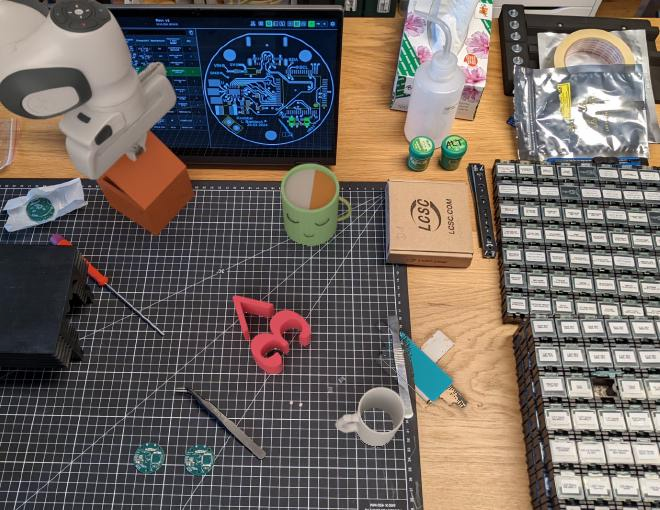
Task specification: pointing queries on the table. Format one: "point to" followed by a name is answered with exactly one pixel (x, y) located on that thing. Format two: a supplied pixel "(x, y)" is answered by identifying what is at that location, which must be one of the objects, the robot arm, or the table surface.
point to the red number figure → (278, 327)
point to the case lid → (146, 172)
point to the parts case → (158, 210)
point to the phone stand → (430, 368)
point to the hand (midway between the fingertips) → (137, 154)
